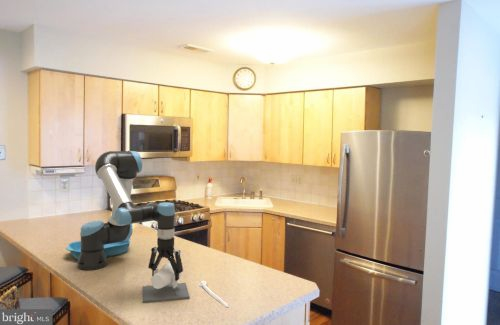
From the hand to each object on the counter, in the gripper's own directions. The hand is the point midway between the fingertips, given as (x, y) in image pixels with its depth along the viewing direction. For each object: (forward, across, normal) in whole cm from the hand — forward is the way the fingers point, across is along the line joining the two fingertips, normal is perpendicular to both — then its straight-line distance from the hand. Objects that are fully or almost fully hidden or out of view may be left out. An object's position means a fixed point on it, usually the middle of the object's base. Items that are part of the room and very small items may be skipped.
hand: (165, 285), depth 176 cm
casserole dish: (+4, -66, +34) cm, 74 cm away
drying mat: (+4, 0, 0) cm, 4 cm away
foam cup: (-4, 0, -7) cm, 8 cm away
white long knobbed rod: (+4, +22, +7) cm, 23 cm away
